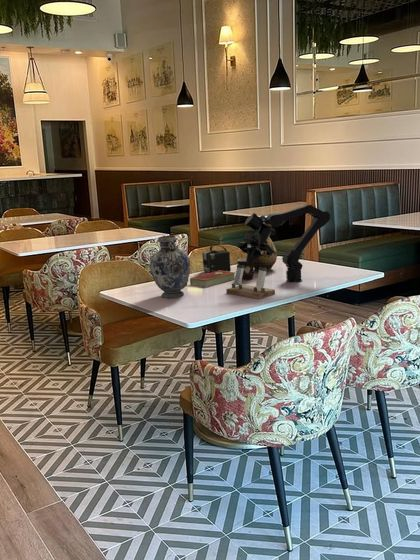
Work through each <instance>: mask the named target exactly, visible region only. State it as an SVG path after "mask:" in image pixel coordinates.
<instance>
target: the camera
mask: <svg viewBox="0 0 420 560" xmlns="http://www.w3.org/2000/svg"><path fill="white" fill-rule="evenodd" d="M213 247H221V248H222V249H220V250H213ZM230 256H231V255H230V251H228V250H227V248H225V247H224V246H222V245H219V244H212V245H210V247H209V250H208V251H203V252H202V266H203V272H205V273H206V274H208V273H212V272H216V271H228V272H231V269H232V267H231V258H230Z"/></svg>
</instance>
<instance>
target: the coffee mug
mask: <svg viewBox="0 0 420 560" xmlns="http://www.w3.org/2000/svg"><path fill="white" fill-rule="evenodd" d="M246 260H247V257H246V258H245V257H244V258H239V259H237V260H236V261H237V264H238V265H244V266H245V267H244V271H243V276H242V281H250V280H253V279H254V274H255V273H256V272H258V271H257V270H259V268H258V269H257V270H256V271H255V270H254V265H255V263H257V262H259V263H260V264H261V262H260V261H256V262H254V260H253V261H252V262H250V263H249V264H247V263H246ZM261 266H262V264H261ZM261 266H260V267H261Z"/></svg>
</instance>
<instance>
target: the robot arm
mask: <svg viewBox="0 0 420 560" xmlns="http://www.w3.org/2000/svg"><path fill="white" fill-rule="evenodd" d="M304 215H309V216H311V217H312V218H311V222H310V225H309V226H308V227H307V228H306V230H305V231H304V232H303V234H302V235H301V236H300V238H299V240H298V241H297V242H296V243H295V245H294V246H293V247H292V248H289V247H287V249H285V252H284V253H283V254H282V255H283V256H282V259H281V260H282V263H283V264H284V265H285V267H286V268H287V269H286V271H285V272H286V276H285V278H286V281H288V282H289V283H293V282H303V279H302V268H303V263H301V262H300V259H301V255H302V252H303V251H304V249H305V248H306V247H307V246H308V244H309V243H310V242H311V240H312V239H313V238H314V237H315V235H316V234H317V232H318V231H320V229H321V228H323V227H324V226H326V225H327V223H329V222H330V221H331V214H330V212H329V211H327V210H322V209H320V208H318V207H315V206H313V205H312V204H307V203H306V204H304V205H302V206H298V207H296V208H292V209H290V210H287V211H284V212H276V213H270V214H268V215H267V216H265V218H262V219H261V218H260V216H259V215H257V214H256V213H255V212H253V213H252V214H250V215H249V216H248V217H247V218H246V219H245V222H244V225H245V226H247V227H248V228H249V229H251V230H252V231H253V232H254V233H251V232H245V235H244V238H243V240H244V241H239V243H238V244H237V247H238V248H239V249H240V250H241V252H242V253H243V254H246V255H247V256H246V258H247V260H246V263H247V264H249V263H250V262H252V261H253V260H255V259H256V258H258V257H260V256H262V252H264V251H267V253H266V254H267V255H269V256H272V254H273V249H272V248H271V247H270V246H269V244H267V243H268V242H267V239H268V237H270V236H271V235H272V236H273V235H275V234H276V233H277V232H276V230H275V228H276V227H279V226H280V225H282V224H285V222H287V221H289V220H292V219H295V218H298V217H300V216H304ZM263 223H264V224H263ZM265 224H267V225H265ZM272 227H273V228H272ZM255 231H257V232H255ZM245 241H246V242H245ZM247 241H248V243H247Z"/></svg>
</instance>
